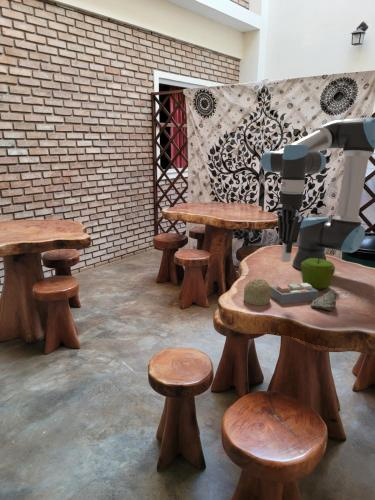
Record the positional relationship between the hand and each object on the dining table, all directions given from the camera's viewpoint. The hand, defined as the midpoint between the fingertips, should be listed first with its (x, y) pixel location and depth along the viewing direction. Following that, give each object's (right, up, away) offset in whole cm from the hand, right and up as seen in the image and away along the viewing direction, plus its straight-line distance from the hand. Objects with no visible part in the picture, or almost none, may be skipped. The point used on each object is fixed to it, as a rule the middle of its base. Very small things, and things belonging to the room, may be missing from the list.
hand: (285, 261), depth 125 cm
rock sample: (+12, -16, -3) cm, 20 cm away
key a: (+8, -11, +5) cm, 15 cm away
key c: (0, -11, +3) cm, 12 cm away
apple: (+16, -11, +16) cm, 26 cm away
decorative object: (-10, -14, +2) cm, 17 cm away
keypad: (+4, -13, +5) cm, 15 cm away
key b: (+4, -11, +4) cm, 12 cm away
